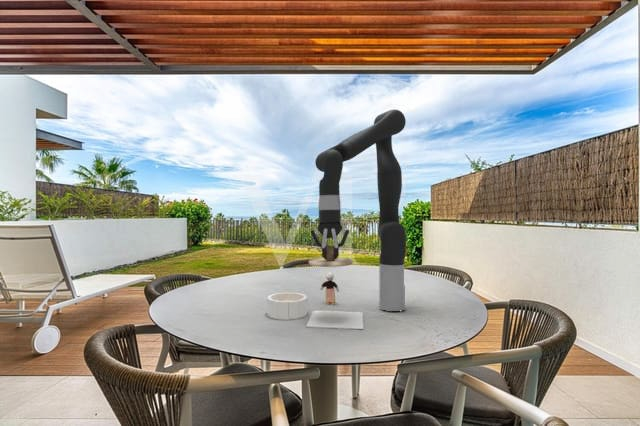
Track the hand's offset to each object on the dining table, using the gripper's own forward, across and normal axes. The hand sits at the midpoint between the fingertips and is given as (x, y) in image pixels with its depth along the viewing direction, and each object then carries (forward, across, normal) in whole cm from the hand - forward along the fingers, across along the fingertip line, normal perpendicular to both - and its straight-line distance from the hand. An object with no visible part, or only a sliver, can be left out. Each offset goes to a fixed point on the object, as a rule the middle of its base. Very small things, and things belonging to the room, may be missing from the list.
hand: (330, 258), depth 118 cm
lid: (+2, 0, 0) cm, 2 cm away
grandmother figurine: (+21, +2, -20) cm, 29 cm away
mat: (+21, -2, +1) cm, 21 cm away
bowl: (+20, +16, -4) cm, 26 cm away
